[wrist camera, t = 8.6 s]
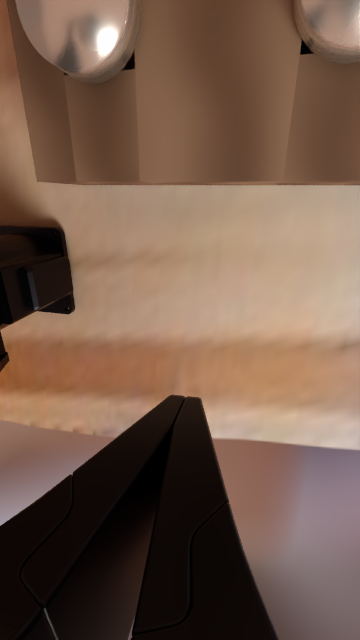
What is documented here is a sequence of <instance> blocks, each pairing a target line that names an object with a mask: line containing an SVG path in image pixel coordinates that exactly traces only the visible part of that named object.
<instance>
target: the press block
mask: <svg viewBox="0 0 360 640" xmlns="http://www.w3.org/2000/svg"><path fill="white" fill-rule="evenodd" d="M7 5H8V11H9V17H10V23H11V29H12V35H13V41H14V47H15V52H16V58H17V64H18V70H19V76H20V82H21V88H22V94H23V100H24V106H25V112H26V118H27V124H28V130H29V136H30V142H31V148H32V154H33V160H34V166H35V172H36V178H37V182H50V183H64V184H78V185H360V62H356V63H349V64H340V63H333V62H330V61H327V60H324V59H322V58H320V57H319V56H317V55H316V54H304V55H300V49H301V41H302V37H301V35H300V33H299V30H298V28H297V24H296V20H295V14H294V0H141V26H140V32H139V37H138V40H137V44H136V47H135V49H134V54H135V69H132V70H121V71H120V72H119V73H118V74H117V75H115V76H114V77H113V78H111V79H109V80H107V81H104V82H101V83H96V84H94V83H84V82H81V81H78V80H76V79H75V78H73V77H71V76H70V75H68V74H67V73H65V72H63V71H62V70H60V69H59V68H57V67H56V66H54V65H53V64H51V63H50V62H49V61H47V60H46V59H45V58H43V57H42V56H41V55H40V54H39V53H38V51H37V50H36V49H35V48H34V46H33V45H32V43H31V42H30V40H29V39H28V37H27V35H26V33H25V31H24V29H23V26H22V23H21V21H20V18H19V14H18V11H17V6H16V1H15V0H7Z"/></svg>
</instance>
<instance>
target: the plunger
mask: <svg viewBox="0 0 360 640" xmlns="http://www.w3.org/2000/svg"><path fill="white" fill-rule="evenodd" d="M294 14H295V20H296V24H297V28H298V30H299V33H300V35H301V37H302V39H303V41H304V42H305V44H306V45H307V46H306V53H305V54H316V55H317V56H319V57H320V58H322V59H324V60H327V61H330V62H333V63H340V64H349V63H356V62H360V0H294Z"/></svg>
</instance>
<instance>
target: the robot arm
mask: <svg viewBox="0 0 360 640" xmlns="http://www.w3.org/2000/svg"><path fill="white" fill-rule="evenodd" d="M56 232H57V233H58V238H57V237H56V235H55V233H56ZM66 305H67V306H68V307H69V309H68V308H67V307H66ZM74 310H75V304H74V297H73V285H72V277H71V270H70V263H69V259H68V255H67V248H66V241H65V234H64V232H63V230H62V229H60V228H58V227H32V226H4V225H0V330H1V329H3V328H5V327H7V326H8V325H10V324H13V323H15V322H17V321H18V320H20V319H22V318H24V317H26V316H28V315H30V314H32V313H34V312H36V311H41V312H51V313H60V314H70V313H72V312H73V311H74ZM8 361H9V356H8V353H7V352H6V351H5V348H4V344H3V340H2V336H1V332H0V371H1V370H2V369H3V368H4V366H5V365H6V364H7V363H8ZM135 614H136V615H135ZM134 617H135V620H134ZM133 620H134V625H133V630H132V638H131V640H279V639H278V636H277V634H276V631H275V629H274V626H273V624H272V621H271V619H270V616H269V614H268V612H267V609H266V607H265V604H264V602H263V599H262V597H261V594H260V592H259V590H258V587H257V585H256V582H255V579H254V576H253V574H252V571H251V569H250V566H249V563H248V561H247V558H246V555H245V552H244V550H243V546H242V543H241V540H240V537H239V534H238V530H237V527H236V524H235V520H234V517H233V513H232V510H231V506H230V504H229V499H228V496H227V493H226V488H225V485H224V481H223V477H222V474H221V470H220V467H219V463H218V459H217V455H216V452H215V448H214V444H213V441H212V437H211V433H210V430H209V426H208V423H207V419H206V415H205V412H204V408H203V404H202V401H201V398H199V397H190V396H188V397H186V398H185V397H184V396H180V395H170V396H168V397H167V398H166V399H165V400H163V401H162V402H161V403H160V404H158V405H157V406H156V407H155V408H153V409H152V410H151V411H150V412H148V413H147V414H146V415H145V416H143V417H142V418H141V419H139V420H138V421H137V422H136V423H134V424H133V425H132V426H131V427H129V428H128V429H127V430H126V431H124V432H123V433H122V434H121V435H119V436H118V437H117V438H116V439H114V440H113V441H112V442H110V444H108V445H107V446H106V447H104V448H103V449H102V450H100V451H99V452H98V453H97V454H95V455H94V456H93V457H92V458H90V459H89V460H88V461H87V462H85V463H84V464H83V465H82V466H80V467H79V468H78V469H76V470H75V471H74V472H73V476H72V475H69V476H68V477H66V478H65V479H64V480H62V481H61V482H60V483H59V484H57V485H56V486H55V487H53V488H52V489H51V490H50V491H48V492H47V493H46V494H44V495H43V496H42V497H40V498H39V499H38V500H36V501H35V502H34V503H32V504H31V505H30V506H28V507H27V508H25V509H24V510H22V511H21V512H20V513H18V514H17V515H15V516H14V517H12V518H11V519H10V520H8V521H7V522H5V523H4V524H3V525H1V526H0V640H128V636H129V633H130V630H131V627H132V624H133Z"/></svg>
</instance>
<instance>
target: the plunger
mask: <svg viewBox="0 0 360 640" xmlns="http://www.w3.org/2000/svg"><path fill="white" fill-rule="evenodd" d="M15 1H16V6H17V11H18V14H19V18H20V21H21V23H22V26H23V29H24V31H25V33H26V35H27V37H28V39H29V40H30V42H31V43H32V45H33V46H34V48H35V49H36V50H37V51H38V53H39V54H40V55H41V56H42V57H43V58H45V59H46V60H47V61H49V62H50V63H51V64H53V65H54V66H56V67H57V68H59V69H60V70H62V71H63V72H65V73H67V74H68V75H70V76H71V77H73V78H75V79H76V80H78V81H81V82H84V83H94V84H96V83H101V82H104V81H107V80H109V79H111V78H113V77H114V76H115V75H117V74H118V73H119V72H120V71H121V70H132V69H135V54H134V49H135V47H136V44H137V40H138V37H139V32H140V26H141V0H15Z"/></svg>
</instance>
